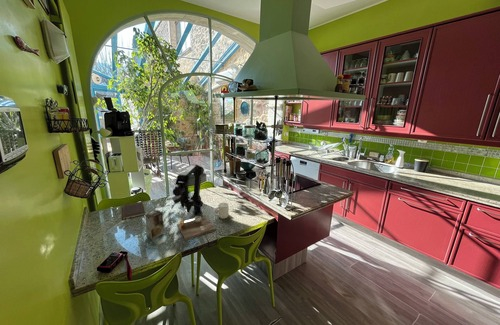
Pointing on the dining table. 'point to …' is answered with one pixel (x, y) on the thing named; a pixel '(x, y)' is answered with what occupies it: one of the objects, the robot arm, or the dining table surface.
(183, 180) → the robot arm
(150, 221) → the coffee box
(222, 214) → the mug
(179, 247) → the dining table surface
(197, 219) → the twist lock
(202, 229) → the lock base
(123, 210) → the hardcover book
